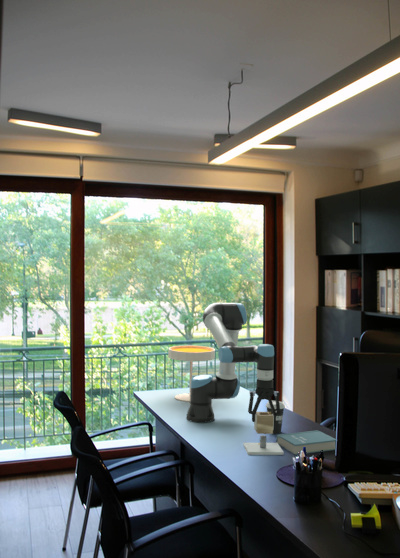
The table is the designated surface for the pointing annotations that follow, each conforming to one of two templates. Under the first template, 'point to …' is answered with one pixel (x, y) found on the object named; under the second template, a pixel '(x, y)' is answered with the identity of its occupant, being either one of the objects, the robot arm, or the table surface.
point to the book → (306, 441)
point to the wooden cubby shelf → (264, 423)
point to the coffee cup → (277, 416)
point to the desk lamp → (190, 355)
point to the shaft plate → (263, 448)
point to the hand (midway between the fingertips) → (263, 429)
